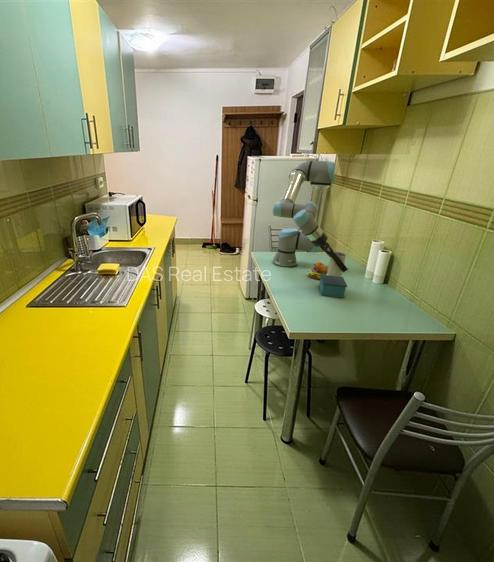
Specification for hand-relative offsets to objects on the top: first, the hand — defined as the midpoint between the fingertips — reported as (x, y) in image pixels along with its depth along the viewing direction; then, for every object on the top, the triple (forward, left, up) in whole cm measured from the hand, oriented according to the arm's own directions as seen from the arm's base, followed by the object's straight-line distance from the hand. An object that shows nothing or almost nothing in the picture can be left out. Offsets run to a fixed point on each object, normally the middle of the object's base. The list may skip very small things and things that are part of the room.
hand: (342, 267), depth 159 cm
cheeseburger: (-19, -8, -14) cm, 26 cm away
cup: (+1, -3, -4) cm, 5 cm away
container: (+1, -3, -14) cm, 15 cm away
